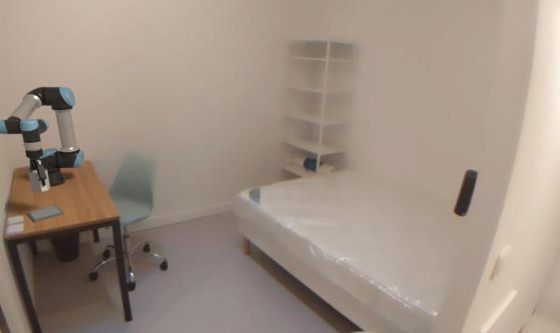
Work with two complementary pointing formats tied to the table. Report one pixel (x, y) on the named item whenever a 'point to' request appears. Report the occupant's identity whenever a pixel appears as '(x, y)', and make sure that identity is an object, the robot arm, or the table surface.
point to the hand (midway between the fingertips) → (40, 187)
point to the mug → (37, 181)
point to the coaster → (45, 213)
